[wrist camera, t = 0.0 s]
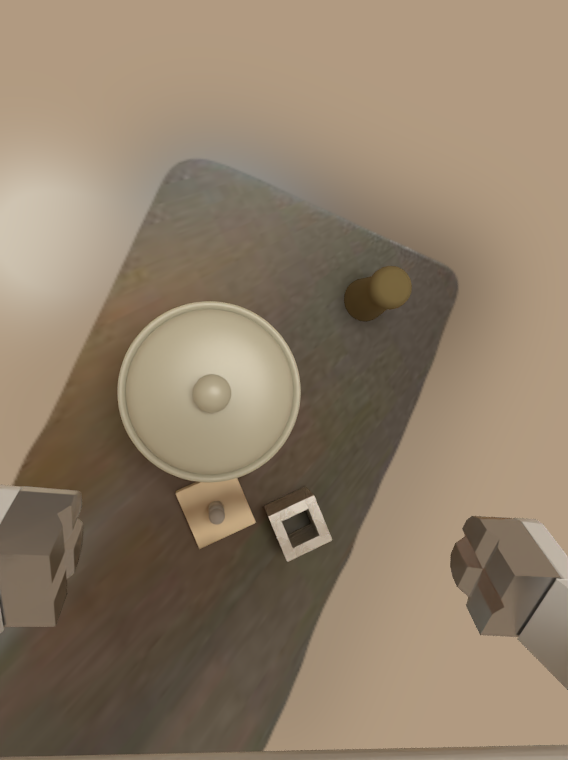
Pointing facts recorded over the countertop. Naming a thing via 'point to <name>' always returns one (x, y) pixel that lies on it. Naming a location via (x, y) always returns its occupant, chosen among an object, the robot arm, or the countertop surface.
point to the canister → (209, 391)
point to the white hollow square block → (305, 536)
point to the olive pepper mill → (377, 293)
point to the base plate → (214, 509)
